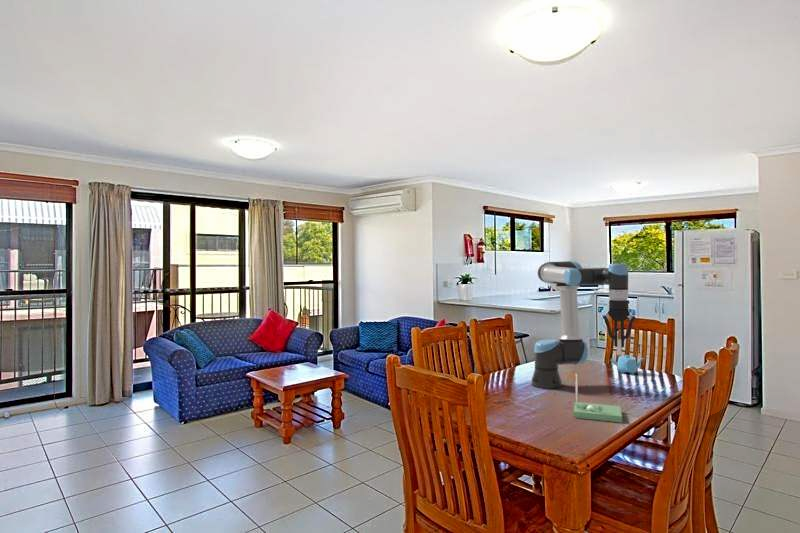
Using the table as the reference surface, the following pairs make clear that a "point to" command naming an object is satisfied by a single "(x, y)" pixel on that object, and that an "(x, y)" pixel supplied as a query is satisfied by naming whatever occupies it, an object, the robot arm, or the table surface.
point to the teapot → (627, 364)
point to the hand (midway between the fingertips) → (619, 354)
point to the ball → (591, 407)
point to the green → (601, 411)
